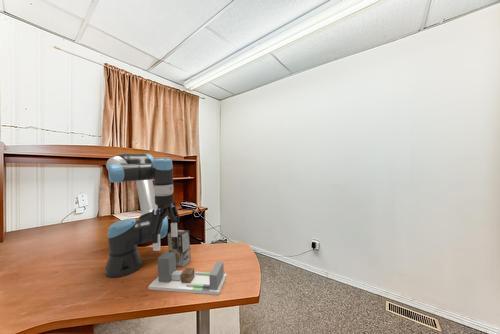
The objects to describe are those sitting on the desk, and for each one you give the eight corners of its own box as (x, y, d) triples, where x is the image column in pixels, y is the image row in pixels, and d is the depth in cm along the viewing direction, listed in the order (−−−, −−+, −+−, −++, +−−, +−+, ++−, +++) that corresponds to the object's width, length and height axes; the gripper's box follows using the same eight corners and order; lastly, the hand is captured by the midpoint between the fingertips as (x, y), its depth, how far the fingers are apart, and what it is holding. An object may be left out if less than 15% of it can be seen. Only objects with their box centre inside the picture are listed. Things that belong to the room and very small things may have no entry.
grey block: (158, 281, 84) (157, 258, 83) (165, 273, 89) (164, 252, 89) (178, 282, 82) (177, 259, 82) (184, 274, 88) (183, 253, 87)
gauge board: (148, 289, 81) (147, 272, 81) (164, 272, 93) (164, 257, 92) (218, 294, 77) (218, 277, 76) (226, 276, 89) (226, 260, 88)
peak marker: (181, 282, 83) (180, 273, 83) (186, 276, 87) (185, 267, 87) (190, 283, 82) (189, 274, 82) (194, 276, 87) (194, 268, 87)
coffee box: (191, 260, 103) (190, 230, 102) (183, 267, 97) (182, 235, 96) (177, 258, 106) (175, 228, 105) (168, 264, 100) (167, 233, 99)
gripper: (154, 200, 71) (157, 257, 72) (185, 189, 96) (187, 232, 97) (135, 200, 72) (138, 256, 73) (171, 189, 97) (173, 231, 98)
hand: (166, 243), depth 85 cm, fingers open, 13 cm apart
